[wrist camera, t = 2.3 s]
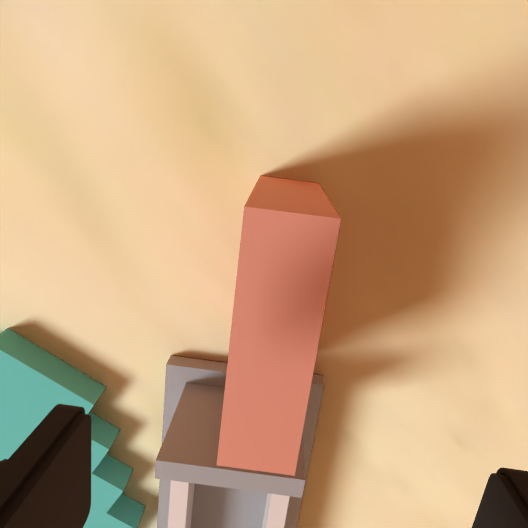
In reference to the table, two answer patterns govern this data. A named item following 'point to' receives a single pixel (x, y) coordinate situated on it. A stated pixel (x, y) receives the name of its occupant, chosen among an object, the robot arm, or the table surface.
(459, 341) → the table surface
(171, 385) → the track
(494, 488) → the robot arm
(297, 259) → the salmon pink rectangular block
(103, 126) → the table surface
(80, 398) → the alien figure
